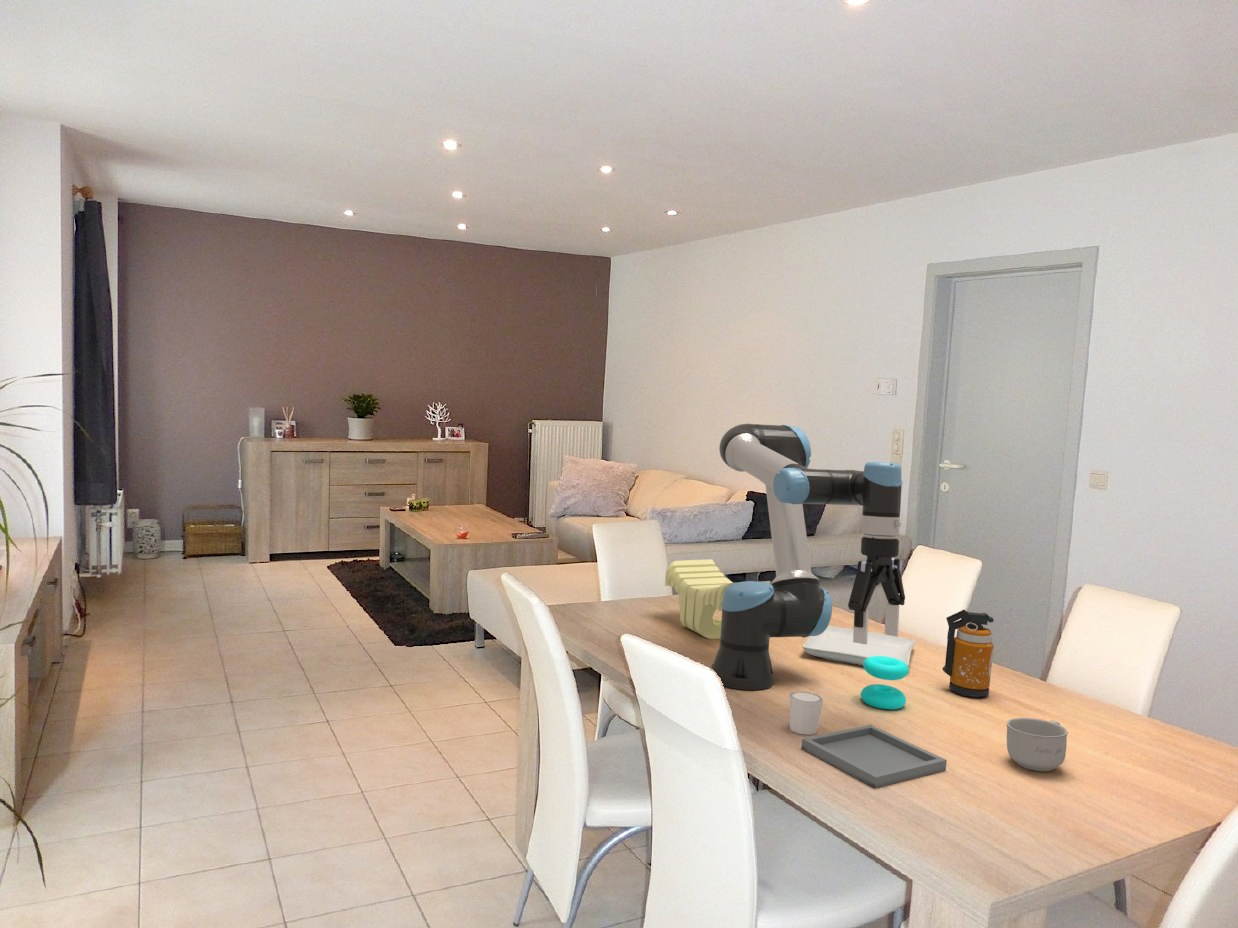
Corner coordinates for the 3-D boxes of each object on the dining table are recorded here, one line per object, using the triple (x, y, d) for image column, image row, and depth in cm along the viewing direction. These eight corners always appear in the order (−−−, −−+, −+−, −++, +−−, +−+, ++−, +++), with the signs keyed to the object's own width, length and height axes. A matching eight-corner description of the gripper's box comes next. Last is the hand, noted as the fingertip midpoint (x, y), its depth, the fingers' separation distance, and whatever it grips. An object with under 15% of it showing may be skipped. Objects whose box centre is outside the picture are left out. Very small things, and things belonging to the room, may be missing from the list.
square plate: (800, 659, 238) (801, 645, 238) (817, 635, 263) (819, 622, 263) (907, 678, 228) (908, 663, 228) (914, 651, 253) (916, 637, 253)
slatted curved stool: (662, 619, 269) (666, 560, 267) (708, 616, 276) (712, 559, 274) (716, 648, 242) (721, 583, 241) (765, 644, 249) (770, 581, 248)
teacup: (1038, 780, 168) (1043, 739, 168) (990, 757, 178) (994, 718, 177) (1086, 770, 175) (1091, 730, 174) (1038, 748, 184) (1042, 710, 184)
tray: (801, 748, 176) (802, 738, 176) (869, 734, 186) (870, 724, 186) (874, 788, 160) (876, 777, 160) (945, 770, 170) (946, 760, 170)
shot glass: (822, 726, 189) (824, 694, 188) (818, 738, 182) (820, 704, 182) (789, 721, 191) (791, 688, 191) (784, 732, 185) (786, 698, 184)
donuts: (880, 668, 199) (855, 655, 208) (876, 712, 200) (851, 697, 209) (918, 666, 202) (892, 653, 212) (914, 710, 203) (888, 695, 212)
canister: (992, 701, 213) (1000, 618, 211) (942, 695, 215) (950, 612, 213) (984, 689, 221) (992, 609, 220) (937, 683, 224) (945, 604, 222)
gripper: (867, 540, 175) (863, 649, 175) (924, 536, 193) (919, 635, 193) (833, 537, 180) (829, 643, 180) (891, 533, 198) (887, 629, 198)
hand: (876, 639), depth 186 cm, fingers open, 13 cm apart
